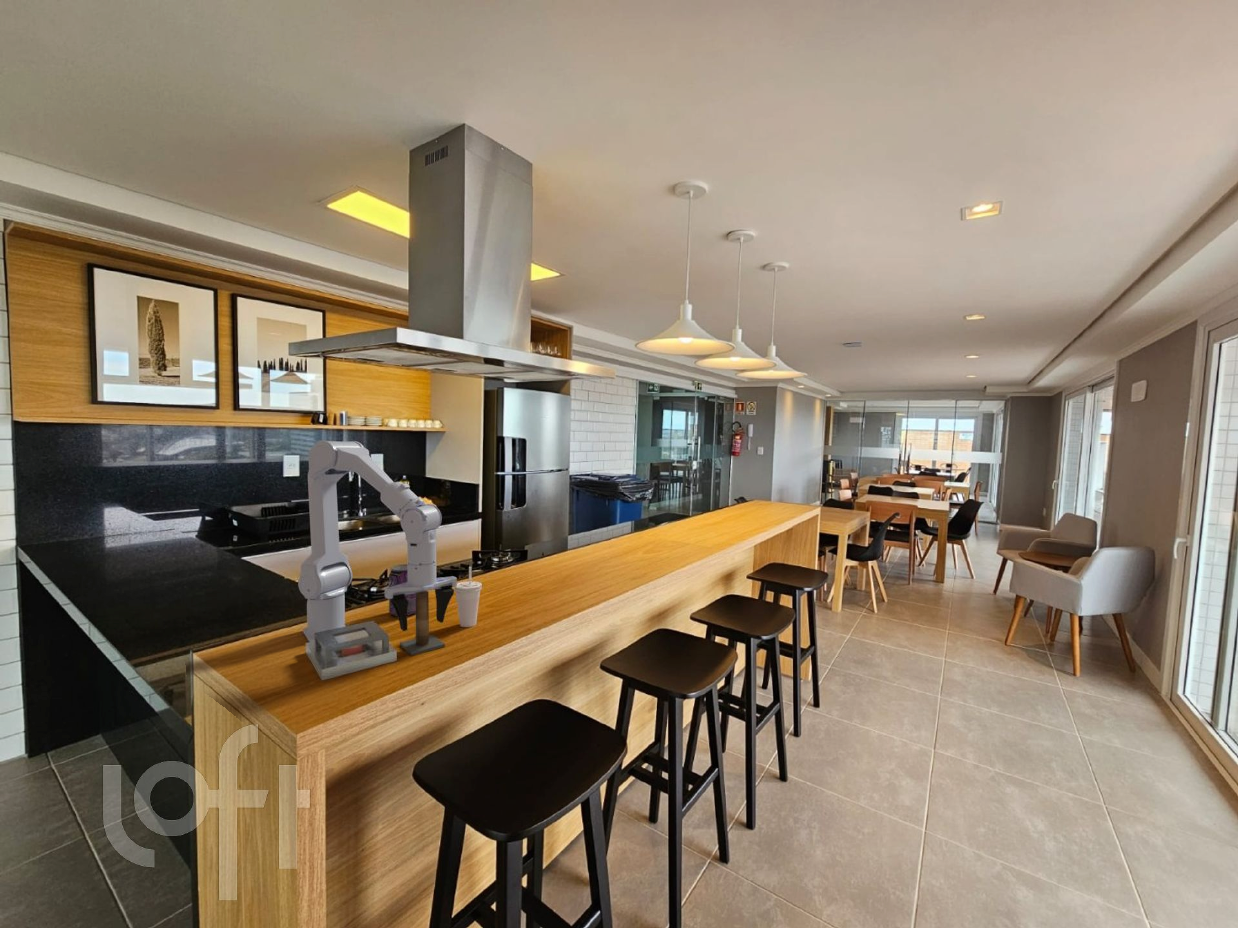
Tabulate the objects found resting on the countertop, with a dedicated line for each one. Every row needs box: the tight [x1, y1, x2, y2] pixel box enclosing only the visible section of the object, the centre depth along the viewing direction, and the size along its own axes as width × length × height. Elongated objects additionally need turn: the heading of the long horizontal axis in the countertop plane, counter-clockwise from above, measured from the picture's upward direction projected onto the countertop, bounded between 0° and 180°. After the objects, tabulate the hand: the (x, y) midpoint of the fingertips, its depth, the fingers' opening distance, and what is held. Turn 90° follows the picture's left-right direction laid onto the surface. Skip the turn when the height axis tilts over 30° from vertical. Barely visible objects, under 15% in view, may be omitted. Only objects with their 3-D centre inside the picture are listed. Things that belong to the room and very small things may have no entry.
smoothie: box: [453, 566, 483, 628], centre depth 119 cm, size 6×6×14 cm
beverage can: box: [388, 563, 416, 617], centre depth 126 cm, size 7×7×12 cm
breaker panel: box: [305, 620, 398, 681], centre depth 100 cm, size 16×13×5 cm
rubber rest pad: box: [399, 634, 446, 657], centre depth 106 cm, size 7×7×1 cm
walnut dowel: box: [415, 591, 430, 646], centre depth 106 cm, size 3×3×11 cm
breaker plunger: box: [341, 645, 363, 658], centre depth 99 cm, size 4×4×2 cm
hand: (422, 625), depth 106 cm, fingers open, 7 cm apart
